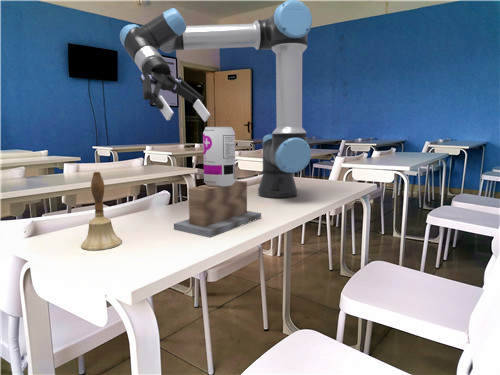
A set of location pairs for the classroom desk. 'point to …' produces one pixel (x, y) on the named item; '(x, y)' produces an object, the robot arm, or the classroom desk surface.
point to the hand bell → (99, 221)
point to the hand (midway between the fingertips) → (190, 117)
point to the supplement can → (219, 156)
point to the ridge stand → (217, 209)
